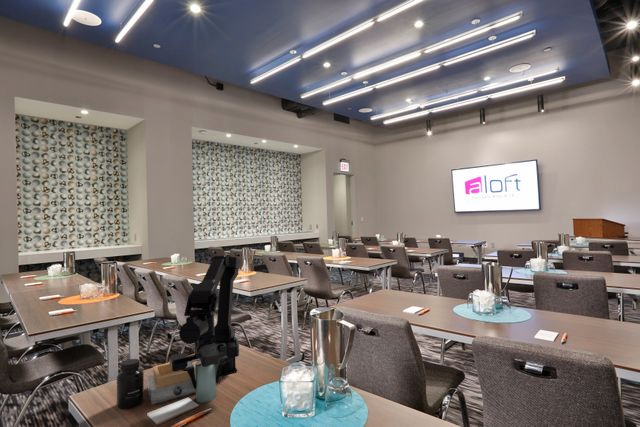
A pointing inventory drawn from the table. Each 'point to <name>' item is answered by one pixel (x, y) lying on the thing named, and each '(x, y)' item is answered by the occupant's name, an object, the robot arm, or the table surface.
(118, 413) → the table surface
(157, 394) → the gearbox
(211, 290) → the robot arm
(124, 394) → the supplement bottle
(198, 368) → the tin can
